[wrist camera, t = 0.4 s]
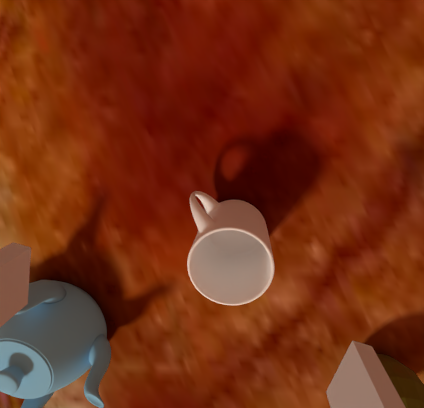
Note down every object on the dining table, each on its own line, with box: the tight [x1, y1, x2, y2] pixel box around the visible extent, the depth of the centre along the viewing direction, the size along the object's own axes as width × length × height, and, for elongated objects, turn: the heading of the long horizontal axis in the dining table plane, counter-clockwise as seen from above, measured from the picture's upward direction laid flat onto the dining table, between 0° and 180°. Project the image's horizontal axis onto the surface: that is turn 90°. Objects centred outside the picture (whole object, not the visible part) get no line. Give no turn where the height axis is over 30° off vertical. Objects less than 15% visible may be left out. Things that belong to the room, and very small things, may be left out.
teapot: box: [0, 280, 111, 408], centre depth 40 cm, size 17×19×12 cm
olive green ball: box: [376, 354, 424, 408], centre depth 37 cm, size 10×10×11 cm
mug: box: [187, 191, 274, 305], centre depth 33 cm, size 9×12×11 cm
